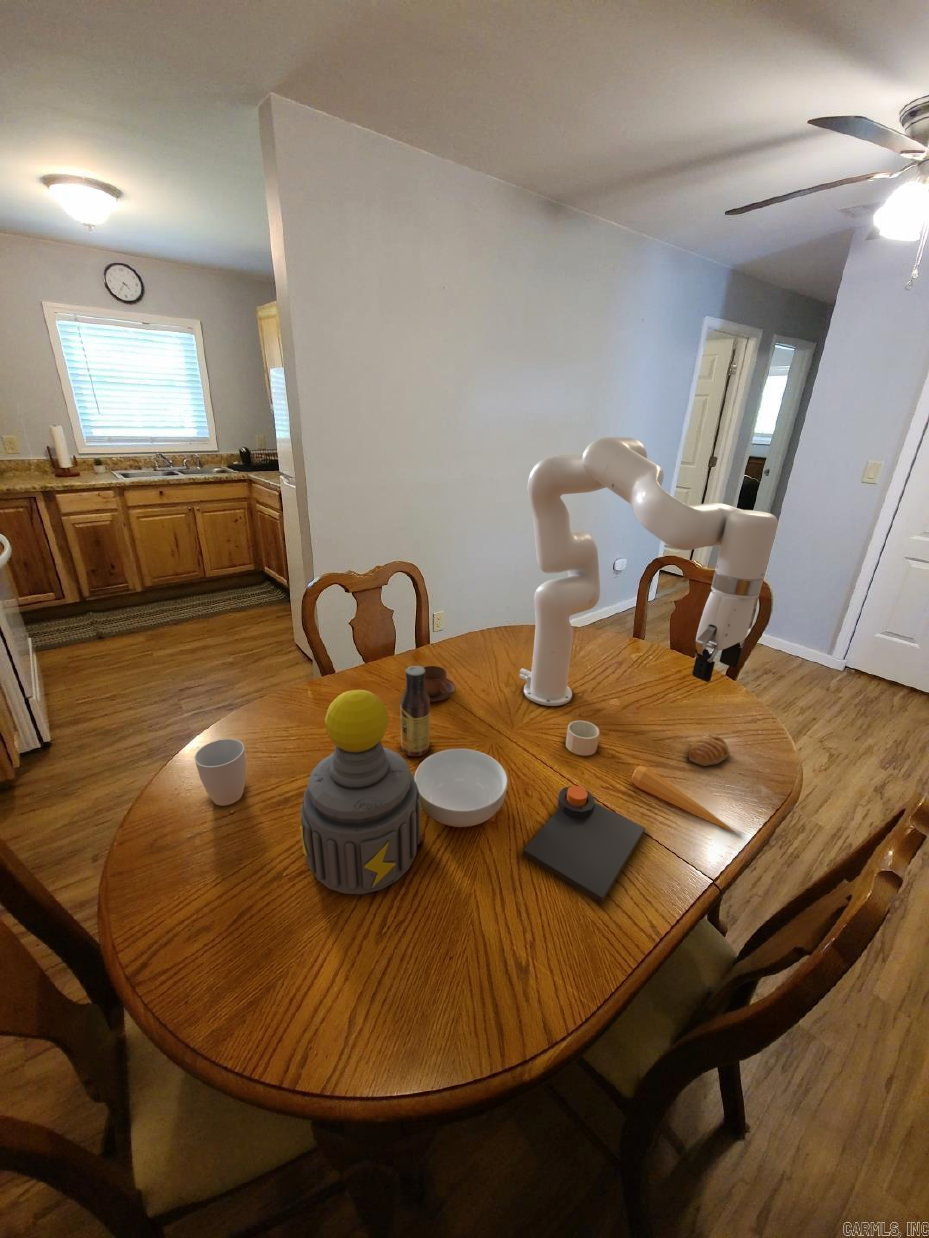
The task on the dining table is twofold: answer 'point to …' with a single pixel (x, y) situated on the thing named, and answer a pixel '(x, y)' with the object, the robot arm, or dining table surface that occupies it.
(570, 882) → the scale
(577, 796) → the power button
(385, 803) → the decorative lamp
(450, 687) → the cup and saucer
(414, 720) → the sauce bottle
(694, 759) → the pastry
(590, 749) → the small bowl
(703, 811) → the carrot
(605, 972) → the dining table surface
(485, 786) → the cereal bowl
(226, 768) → the cup
